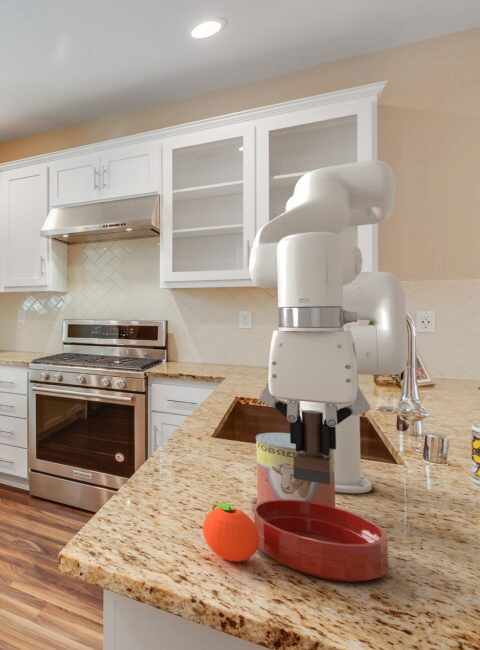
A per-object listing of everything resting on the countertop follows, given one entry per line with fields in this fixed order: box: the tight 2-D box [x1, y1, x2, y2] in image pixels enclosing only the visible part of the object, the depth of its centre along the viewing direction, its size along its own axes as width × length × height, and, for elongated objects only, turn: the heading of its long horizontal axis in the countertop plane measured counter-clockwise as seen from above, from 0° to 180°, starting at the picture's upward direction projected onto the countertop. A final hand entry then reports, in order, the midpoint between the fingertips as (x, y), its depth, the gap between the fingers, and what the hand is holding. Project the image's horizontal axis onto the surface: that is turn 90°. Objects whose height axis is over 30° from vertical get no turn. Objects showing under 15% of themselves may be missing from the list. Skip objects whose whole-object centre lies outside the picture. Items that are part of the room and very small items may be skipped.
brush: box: [293, 410, 333, 485], centre depth 67 cm, size 6×4×9 cm, turn 140°
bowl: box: [251, 499, 389, 583], centre depth 67 cm, size 15×15×5 cm
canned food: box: [255, 431, 336, 507], centre depth 82 cm, size 11×11×12 cm
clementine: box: [202, 503, 259, 562], centre depth 67 cm, size 8×7×7 cm
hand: (312, 450), depth 67 cm, fingers closed on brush, 2 cm apart
